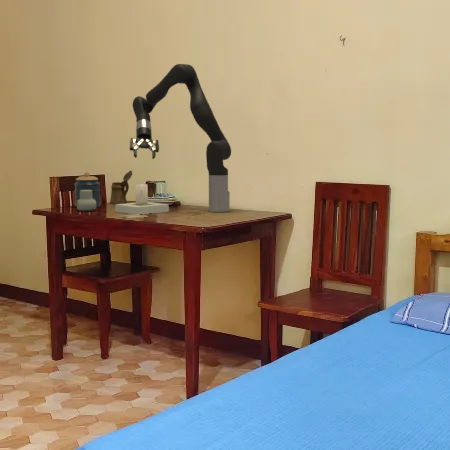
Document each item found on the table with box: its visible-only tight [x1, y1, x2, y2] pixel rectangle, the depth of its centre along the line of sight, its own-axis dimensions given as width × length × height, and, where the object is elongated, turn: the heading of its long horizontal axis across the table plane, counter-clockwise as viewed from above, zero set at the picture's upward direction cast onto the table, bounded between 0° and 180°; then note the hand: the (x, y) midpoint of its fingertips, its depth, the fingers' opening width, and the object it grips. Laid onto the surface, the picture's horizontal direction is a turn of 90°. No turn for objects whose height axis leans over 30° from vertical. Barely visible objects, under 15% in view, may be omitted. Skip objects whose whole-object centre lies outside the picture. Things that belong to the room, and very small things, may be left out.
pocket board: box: [114, 201, 170, 215], centre depth 294 cm, size 18×18×4 cm
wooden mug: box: [109, 170, 133, 205], centre depth 331 cm, size 9×14×18 cm, turn 63°
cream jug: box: [135, 183, 149, 206], centre depth 292 cm, size 8×6×13 cm
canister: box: [73, 171, 102, 208], centre depth 316 cm, size 13×13×18 cm
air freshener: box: [76, 190, 97, 212], centre depth 298 cm, size 11×8×10 cm
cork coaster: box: [118, 214, 149, 220], centre depth 273 cm, size 9×9×1 cm
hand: (144, 157), depth 303 cm, fingers open, 8 cm apart
